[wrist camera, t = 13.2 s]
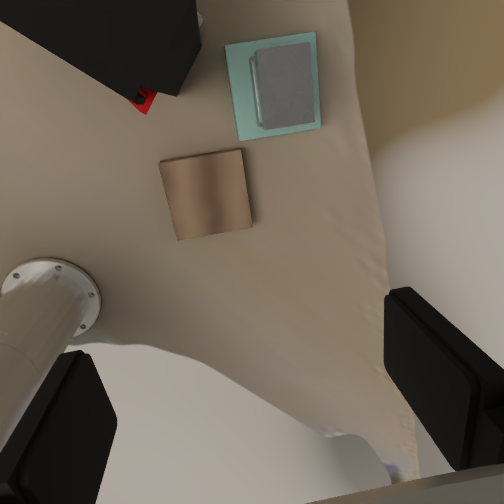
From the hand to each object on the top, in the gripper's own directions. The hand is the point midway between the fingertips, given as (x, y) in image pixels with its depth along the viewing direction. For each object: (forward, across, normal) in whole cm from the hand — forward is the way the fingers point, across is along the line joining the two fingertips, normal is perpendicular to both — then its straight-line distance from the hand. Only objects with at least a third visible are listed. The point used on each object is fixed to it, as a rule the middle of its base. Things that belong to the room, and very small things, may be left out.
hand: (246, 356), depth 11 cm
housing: (+34, -8, -8) cm, 36 cm away
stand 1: (+36, +2, +3) cm, 36 cm away
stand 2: (+36, -8, -8) cm, 38 cm away
